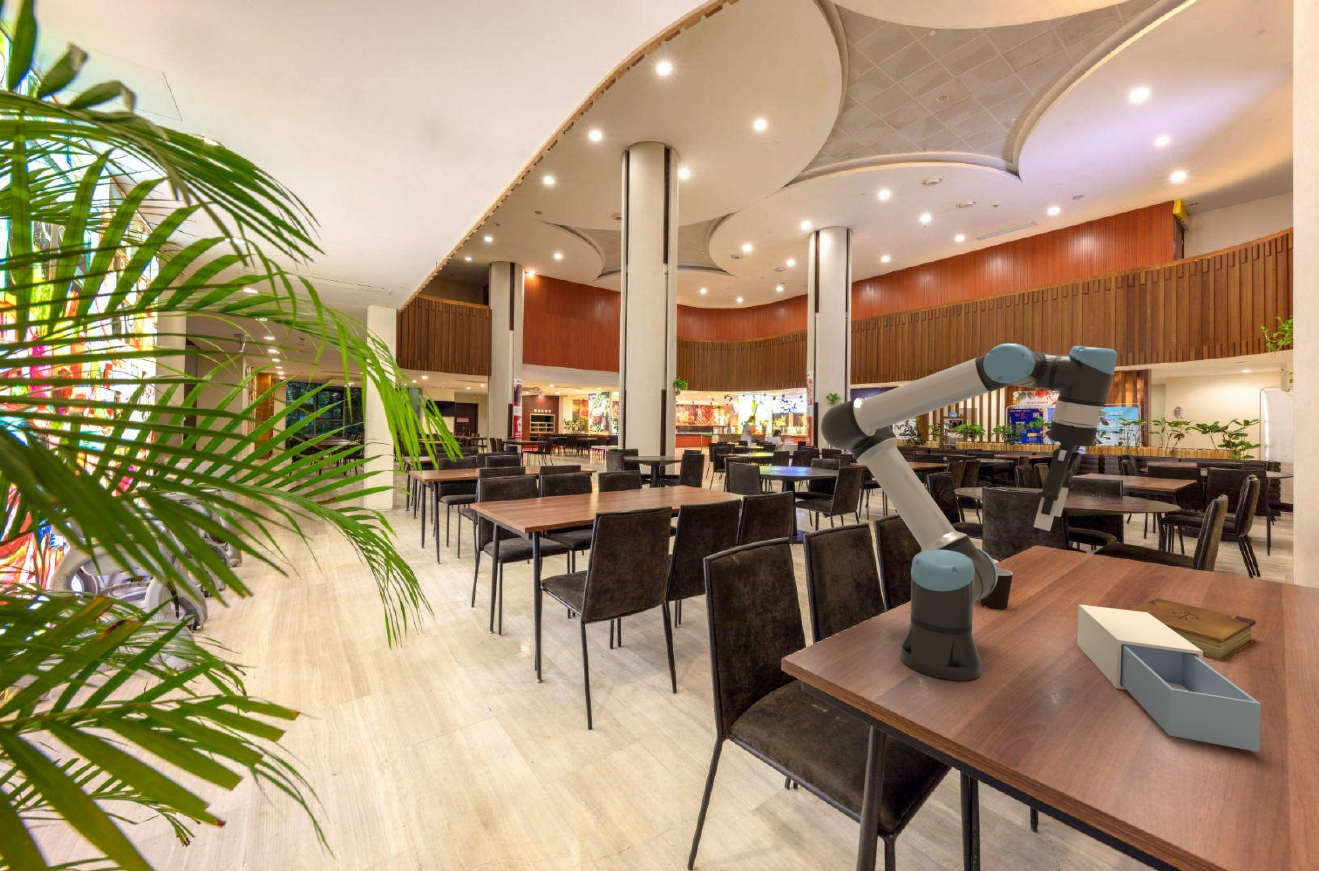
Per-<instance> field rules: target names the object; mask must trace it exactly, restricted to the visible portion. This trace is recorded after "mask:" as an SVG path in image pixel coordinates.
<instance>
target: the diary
mask: <svg viewBox="0 0 1319 871" xmlns="http://www.w3.org/2000/svg"><path fill="white" fill-rule="evenodd" d="M1128 610H1130V611H1139V612H1147V613H1149V614H1150V615H1152V616H1153V617H1155V618H1156V619H1158V620H1159V621H1160V622H1162V623H1163V624H1165V625H1166V626H1167V627H1169V628H1170V629H1172V630H1173V631H1175V632H1176V633H1177V634H1179V635H1180V636H1182V637H1183V638H1185V639H1186V640H1187V641H1189V642H1190V643H1192V644H1193V645H1194V646H1196V647H1197V648H1199V649H1200V650H1202V651H1203V658H1207V659H1210V660H1214V661H1218V662H1221V663H1223V662H1225V661H1226V660H1228V659H1229V658H1231V657H1233V656H1234V655H1236V654H1238V653H1240V652H1241V651H1242V650H1244V649H1245V648H1247V647H1248V646H1250V645H1251V644H1253V643H1255V642H1256V639H1255V638H1252V636H1251V635H1252V627H1253V626H1255V625H1256V624H1257V619H1251V618H1247V617H1243V616H1238V615H1234V614H1228V613H1225V612H1220V611H1216V610H1211V609H1207V608H1202V607H1198V606H1194V605H1190V604H1185V603H1181V602H1176V601H1173V600H1172V601H1171V600H1167V599H1162V598H1159V597H1157V598H1154V599H1153V600H1150V601H1147V602H1145V603H1142V604H1139V605H1137V606H1134V607H1132V608H1129V609H1128Z"/></svg>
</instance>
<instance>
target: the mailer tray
mask: <svg viewBox="0 0 1319 871" xmlns="http://www.w3.org/2000/svg"><path fill="white" fill-rule="evenodd" d="M1120 683H1121V684H1122V685H1123V686H1124V687H1125V688H1126V689H1127V690H1126V691H1127V692H1128V693H1129V694H1130V695H1131V696H1132V697H1133V698H1134V700H1136V701H1137V703H1139V705H1140V706H1141V707H1142V708H1143V709H1144V710H1145V711H1146V712H1147V713H1148V714H1149V715H1150V716H1151V718H1152V719H1153V720H1155V722H1156V723H1157V724H1158V725H1159V726H1160V727H1161V729H1163V731H1165V733H1166V734H1167V735H1169V736H1171V737H1176V738H1182V739H1187V740H1193V741H1197V742H1203V743H1209V744H1213V745H1219V746H1223V747H1231V748H1235V749H1236V748H1237V749H1240V750H1245V751H1246V750H1248V751H1251V752H1257V753H1259V752H1260V741H1261V740H1260V739H1261V738H1260V737H1261V717H1262V716H1261V714H1262V713H1261V712H1262V703H1260V701H1258V700H1257V699H1255V698H1254V697H1253V696H1251V695H1250V694H1248V693H1247V692H1246V691H1244V690H1243V689H1241V687H1239V686H1238V685H1237V684H1235V683H1233V682H1232V681H1231V680H1229V679H1228V678H1226V677H1225V676H1224V675H1223V674H1221V673H1220V672H1218V671H1217V670H1216V669H1214V668H1213V667H1211V666H1210V665H1209V664H1208V663H1206V662H1205V661H1204V660H1203V661H1202V660H1201V659H1199V658H1198V657H1197V656H1195V655H1194V654H1192V653H1187V652H1180V651H1172V650H1165V649H1158V648H1150V647H1143V646H1136V645H1129V644H1122V647H1121V677H1120Z"/></svg>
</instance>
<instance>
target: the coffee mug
mask: <svg viewBox="0 0 1319 871" xmlns="http://www.w3.org/2000/svg"><path fill="white" fill-rule="evenodd" d="M997 571H998V580H997V583H996V586H995V587H994V589H993V591H992V592H991V593H990V594H989V595H988V596H987V597H986V598H983V599H981V600H979V601H980V602H979V604H980V606H982V607H984V606H986V607H988V608H987V609H990V608H991V610H995V609H996V611H1005V609H1006V610H1007V609H1008V604H1009V599H1010V593H1011V588H1012V586H1011V585H1012V580H1013V575H1014V573H1013V572H1012V571H1011V570H1007V569H1003V568H999V567H997ZM986 607H985V608H986Z"/></svg>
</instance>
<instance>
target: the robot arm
mask: <svg viewBox="0 0 1319 871" xmlns="http://www.w3.org/2000/svg"><path fill="white" fill-rule="evenodd" d="M1117 360H1118V352H1117V351H1116V350H1115V349H1112V348H1105V347H1095V346H1093V347H1091V346H1082V345H1075V346H1072V347H1071V349H1070V351H1069V352H1068V354H1065V353H1064V354H1061V353H1060V354H1059V353H1058V354H1057V353H1051V352H1049V353H1048V352H1040V351H1036V350H1033V349H1030V348H1028V346H1025V345H1022V344H1020V343H1009V342H1007V343H1001V344H998V345H996V346H994V347H993V348H992V349H990V350H989V351H988V352H987V353H986V354H983V355H981V356H978V357H974V358H972V359H969V360H966V361H964V362H961V363H959V364H957V365H953V366H951V367H949V368H946V369H943V370H940V371H938V372H935V373H933V374H930V375H927V376H925V377H922V378H919V379H916V380H914V381H911V382H908V383H906V384H903V385H901V386H898V387H895V388H892V389H891V390H887V391H884V392H882V393H879V394H877V395H874V396H871V397H868V398H866V399H864V398H862V397H857V398H854V399H852V400H849V401H845V402H843V403H840V404H837V405H834V406H833V407H831V408H829V409H828V410H827V411H826V412H825V414H824V415H823V417H822V419H821V423H820V431H821V434H822V437H823V439H824V440H825V442H827V444H829V445H830V446H831V447H833V448H835V449H839V450H843V451H844V450H845V451H849V453H851V455H852V456H853V458H854V459H855V461H856V463H858V464H861V465H865V466H867V468H868V470H869V471H870V473H871V474H872V476H873V478H874V479H875V480H876V482H877V484H878V485H879V487H880V488H881V489H882V491H883V492H884V493H885V495H886V497H887V498H888V499H889V501H890V503H891V504H892V506H893V507H894V509H895V510H896V511H897V513H898V515H899V516H900V518H901V519H902V520H903V522H904V523H905V524H904V525H906V527H907V528H908V530H909V531H910V533H911V534H912V536H913V537H914V539H915V540H916V541H917V543H918V544H919V546H920V548H921V550H920V552H919V553H916V554H915V555H914V557H913V558H912V562H911V563H912V564H911V568H910V569H911V570H910V576H911V581H910V583H911V584H910V587H911V588H910V622H909V623H910V624H909V627H908V629H907V630H906V634H905V636H904V638H903V642H902V643H901V648H900V658H901V660H902V662H903V663H904V664H905V665H907V666H908V667H909V668H910V669H913V670H914V671H916V672H919V673H922V674H924V675H927V676H929V677H934V678H938V679H941V680H948V681H959V682H961V681H972V680H975V679H978V678H979V677H980V676H981V673H982V659H981V657H980V655H979V654H980V653H979V651H978V648H977V644H976V641H975V638H974V635H973V620H974V619H973V618H974V617H973V614H974V613H973V611H974V610H973V609H974V608H973V607H974V605H975V604H977V603H978V602H979V601H980V600H981V599H983V598H986V597H987V596H988V595H989V594H990V593H991V592H992V591H993V589H994V587H995V586H996V583H997V580H998V571H997V568H998V567H997V565H996V562H995V561H994V559H993V558H992V556H990V554H988V553H987V552H986V551H984V550H983V549H980V548H978V547H976V546H975V544H974V543H973V541H972V540H971V538H969V535H968V534H966V533H963V532H960V531H957V530H955V528H954V527H953V525H952V524H951V522H950V521H949V519H948V518H947V516H946V515H945V514H944V512H943V511H942V510H941V508H940V507H939V506H938V504H937V502H936V501H935V500H934V498H933V497H932V496H931V494H930V493H929V491H928V490H927V488H926V486H925V485H924V484H923V482H922V481H921V480H920V478H919V477H918V476H917V475H916V473H915V471H914V470H913V468H912V467H911V466H910V465H909V463H908V462H907V460H906V459H905V458H904V456H903V455H902V453H901V452H900V450H899V449H898V442H899V438H898V436H897V435H896V434H895V432H894V430H893V429H894V425H895V424H899V423H901V422H904V421H907V420H909V419H913V418H915V417H919V416H922V415H925V414H928V413H931V412H934V411H937V410H940V409H944V408H945V407H949V406H952V405H954V404H958V403H961V402H964V401H967V400H969V399H973V398H976V397H979V396H981V395H984V394H988V393H991V392H995V391H999V390H1003V389H1005V388H1008V387H1010V386H1012V387H1023V388H1029V389H1038V390H1048V391H1052V392H1058V397H1057V400H1056V403H1055V406H1054V410H1053V414H1052V419H1053V420H1054V421H1052V422H1051V424H1050V427H1049V431H1048V434H1047V438H1048V439H1049V440H1050V441H1053V442H1056V443H1057V442H1058V443H1059V444H1060V445H1059V447H1058V448H1056V449H1054V450H1053V452H1052V459H1051V462H1050V464H1049V471H1048V473H1047V475H1046V476H1047V477H1046V478H1045V479H1046V480H1045V482H1044V485H1043V488H1042V491H1038V492H1037V497H1040V501H1039V504H1038V509H1037V513H1036V516H1035V519H1034V524H1033V528H1037V529H1040V530H1043V531H1047V532H1051V528H1052V525H1053V521H1054V518H1055V517H1059V518H1061V516H1062V513H1063V510H1064V506H1065V503H1066V499H1067V496H1068V491H1069V489H1073V488H1074V486H1075V483H1073V482H1072V481H1073V479H1072V478H1073V475H1074V470H1075V468H1076V465H1077V462H1078V460H1079V458H1080V452H1079V450H1080V448H1081V447H1084V448H1085V447H1092V446H1093V445H1094V443H1095V439H1096V436H1097V432H1098V430H1097V428H1096V427H1097V426H1098V425H1099V424H1100V421H1101V417H1105V416H1106V415H1107V412H1106V411H1103V410H1104V407H1105V404H1106V400H1107V397H1108V394H1109V391H1110V388H1111V384H1112V382H1113V378H1114V375H1115V368H1116V365H1117Z"/></svg>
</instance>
